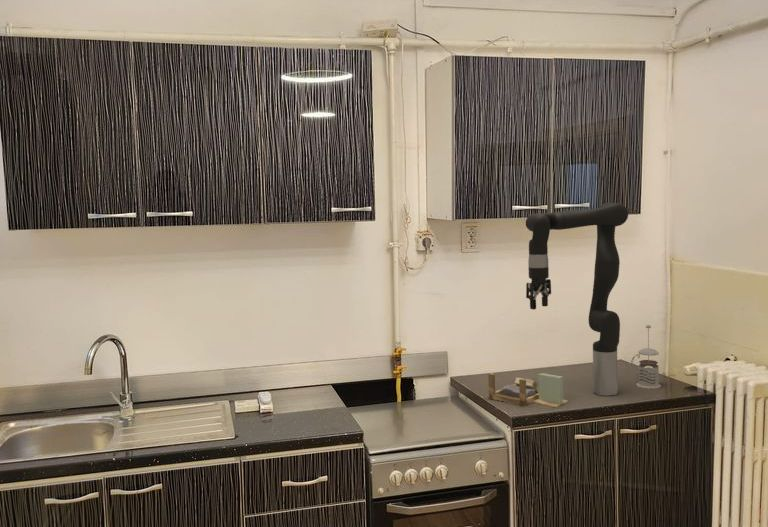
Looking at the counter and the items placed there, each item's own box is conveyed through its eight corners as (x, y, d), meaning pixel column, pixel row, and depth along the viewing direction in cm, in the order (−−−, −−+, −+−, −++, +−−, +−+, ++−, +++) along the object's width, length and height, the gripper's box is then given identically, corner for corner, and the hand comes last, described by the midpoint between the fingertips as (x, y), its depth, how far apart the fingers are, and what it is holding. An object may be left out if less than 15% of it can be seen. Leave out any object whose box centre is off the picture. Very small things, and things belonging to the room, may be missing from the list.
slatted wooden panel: (545, 397, 275) (545, 396, 275) (568, 401, 268) (568, 400, 268) (532, 402, 268) (532, 401, 268) (556, 407, 261) (556, 406, 261)
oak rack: (514, 388, 289) (513, 364, 288) (548, 395, 278) (548, 370, 277) (488, 398, 276) (488, 374, 275) (523, 406, 265) (523, 380, 264)
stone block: (513, 395, 286) (499, 396, 279) (514, 383, 286) (500, 384, 279) (538, 401, 278) (524, 402, 271) (539, 389, 278) (526, 390, 271)
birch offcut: (520, 389, 287) (522, 384, 288) (537, 393, 282) (539, 387, 283) (514, 382, 283) (516, 377, 284) (531, 385, 278) (533, 380, 279)
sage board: (542, 398, 272) (542, 373, 271) (563, 402, 266) (562, 376, 265) (538, 399, 270) (538, 374, 269) (559, 403, 264) (559, 377, 263)
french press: (657, 389, 279) (657, 328, 277) (628, 385, 286) (627, 325, 284) (664, 383, 287) (664, 323, 285) (635, 380, 294) (635, 321, 292)
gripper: (537, 268, 261) (537, 311, 262) (556, 264, 271) (557, 305, 272) (519, 267, 266) (520, 309, 267) (539, 263, 276) (540, 304, 277)
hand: (539, 307), depth 270 cm, fingers open, 8 cm apart
